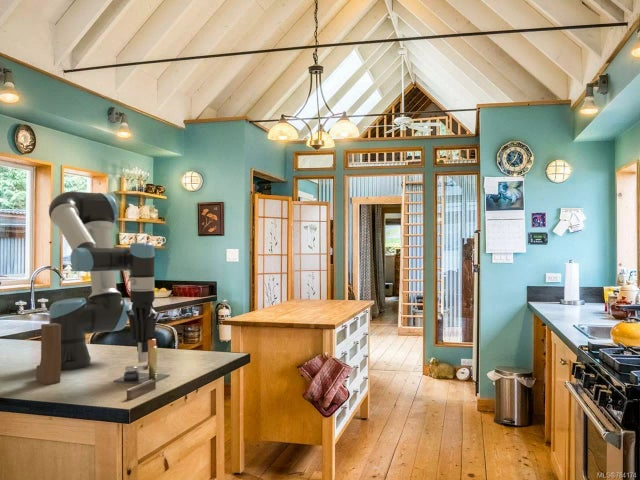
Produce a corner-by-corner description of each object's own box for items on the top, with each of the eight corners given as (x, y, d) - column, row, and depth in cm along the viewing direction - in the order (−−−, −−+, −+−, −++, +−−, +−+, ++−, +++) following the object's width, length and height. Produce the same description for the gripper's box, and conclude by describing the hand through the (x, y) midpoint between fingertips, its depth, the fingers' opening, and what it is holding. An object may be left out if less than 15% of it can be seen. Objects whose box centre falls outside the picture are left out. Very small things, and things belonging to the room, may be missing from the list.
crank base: (113, 381, 169) (113, 348, 169) (134, 373, 180) (134, 342, 181) (150, 384, 166) (150, 350, 166) (169, 375, 177) (170, 343, 177)
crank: (127, 373, 169) (128, 342, 169) (123, 371, 171) (124, 341, 171) (157, 369, 174) (157, 339, 175) (153, 367, 177) (153, 338, 177)
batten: (126, 399, 150) (126, 389, 150) (150, 388, 161) (150, 379, 161) (131, 399, 149) (131, 390, 149) (155, 388, 161) (155, 379, 161)
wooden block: (35, 380, 172) (36, 322, 172) (51, 377, 175) (51, 321, 175) (45, 385, 165) (45, 325, 165) (60, 382, 168) (61, 324, 168)
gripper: (119, 289, 178) (119, 362, 178) (147, 291, 172) (147, 366, 172) (137, 287, 184) (137, 357, 185) (165, 289, 178) (165, 361, 178)
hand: (142, 361), depth 178 cm, fingers closed
